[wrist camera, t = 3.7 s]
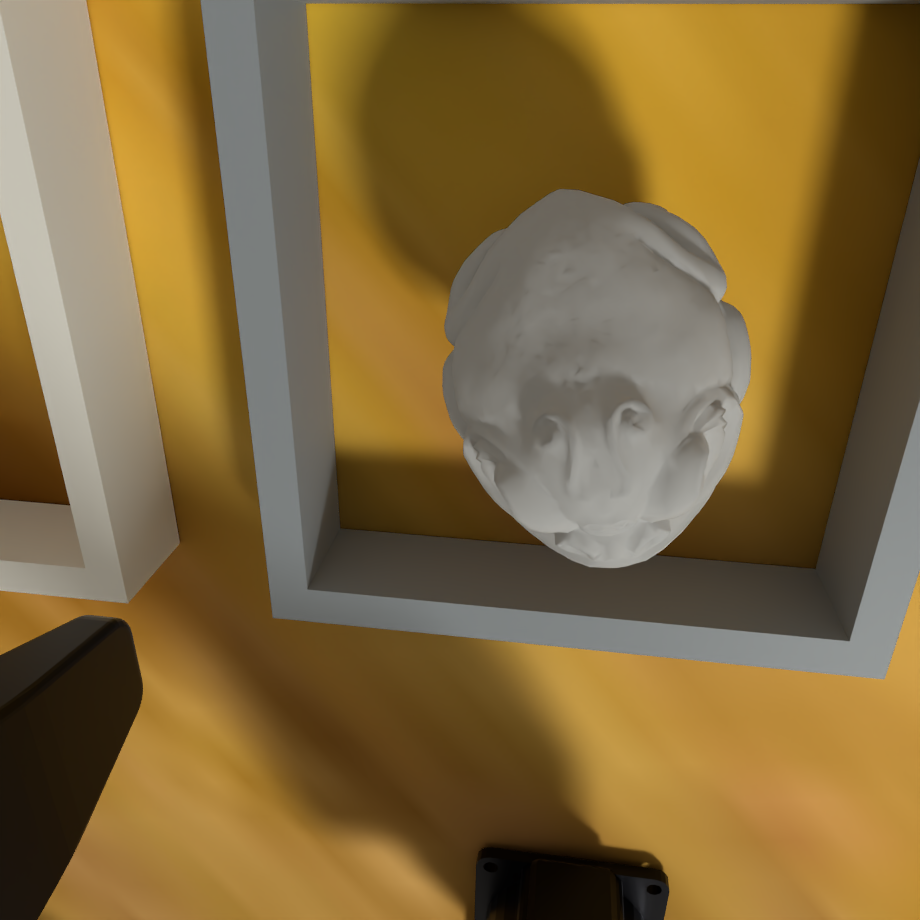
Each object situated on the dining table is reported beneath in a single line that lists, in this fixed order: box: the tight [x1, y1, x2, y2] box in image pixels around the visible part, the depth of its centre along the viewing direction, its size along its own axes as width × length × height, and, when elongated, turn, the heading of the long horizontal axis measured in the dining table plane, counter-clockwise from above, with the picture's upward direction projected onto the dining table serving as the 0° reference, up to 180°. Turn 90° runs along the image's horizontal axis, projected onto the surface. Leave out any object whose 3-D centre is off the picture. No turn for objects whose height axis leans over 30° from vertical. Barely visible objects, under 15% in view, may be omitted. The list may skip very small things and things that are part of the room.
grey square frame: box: [201, 0, 920, 679], centre depth 17 cm, size 15×15×3 cm
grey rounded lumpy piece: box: [442, 189, 751, 568], centre depth 16 cm, size 6×7×7 cm
